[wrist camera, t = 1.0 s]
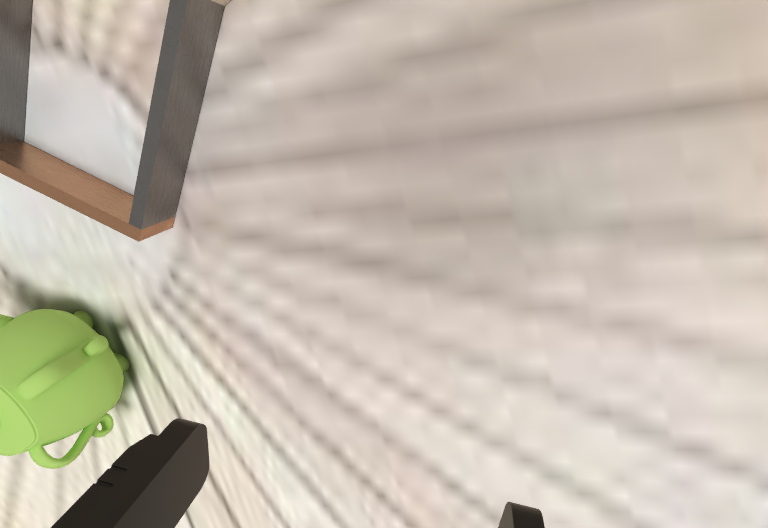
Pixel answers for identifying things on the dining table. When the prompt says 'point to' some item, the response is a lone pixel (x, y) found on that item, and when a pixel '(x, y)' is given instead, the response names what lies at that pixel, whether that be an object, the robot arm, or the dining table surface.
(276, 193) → the dining table surface
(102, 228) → the dining table surface
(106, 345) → the teapot
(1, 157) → the bay
